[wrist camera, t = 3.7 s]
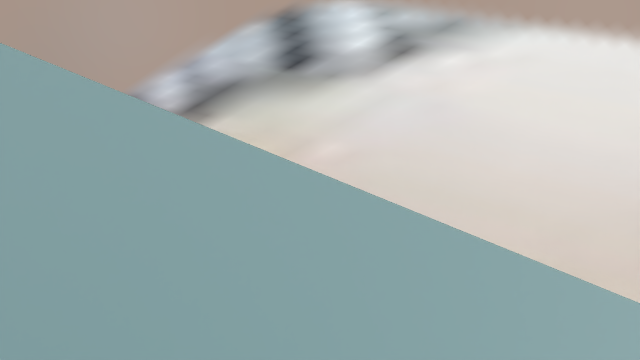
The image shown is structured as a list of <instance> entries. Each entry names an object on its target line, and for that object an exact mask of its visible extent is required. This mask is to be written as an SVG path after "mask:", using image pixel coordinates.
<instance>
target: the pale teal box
mask: <svg viewBox="0 0 640 360" xmlns="http://www.w3.org/2000/svg"><path fill="white" fill-rule="evenodd" d="M0 360H640V303H638V302H635V301H633V300H630V299H628V298H625V297H623V296H620V295H618V294H616V293H613V292H611V291H608V290H606V289H603V288H601V287H598V286H596V285H593V284H591V283H589V282H586V281H584V280H581V279H579V278H576V277H574V276H571V275H569V274H566V273H564V272H562V271H559V270H557V269H554V268H552V267H549V266H547V265H544V264H542V263H539V262H537V261H535V260H532V259H530V258H527V257H525V256H522V255H520V254H517V253H515V252H512V251H510V250H507V249H505V248H503V247H500V246H498V245H495V244H493V243H490V242H488V241H485V240H483V239H480V238H478V237H476V236H473V235H471V234H468V233H466V232H463V231H461V230H458V229H456V228H453V227H451V226H449V225H446V224H444V223H441V222H439V221H436V220H434V219H431V218H429V217H426V216H424V215H422V214H419V213H417V212H414V211H412V210H409V209H407V208H404V207H402V206H399V205H397V204H395V203H392V202H390V201H387V200H385V199H382V198H380V197H377V196H375V195H372V194H370V193H367V192H365V191H363V190H360V189H358V188H355V187H353V186H350V185H348V184H345V183H343V182H340V181H338V180H336V179H333V178H331V177H328V176H326V175H323V174H321V173H318V172H316V171H313V170H311V169H309V168H306V167H304V166H301V165H299V164H296V163H294V162H291V161H289V160H286V159H284V158H282V157H279V156H277V155H274V154H272V153H269V152H267V151H264V150H262V149H259V148H257V147H255V146H252V145H250V144H247V143H245V142H242V141H240V140H237V139H235V138H232V137H230V136H228V135H225V134H223V133H220V132H218V131H215V130H213V129H210V128H208V127H205V126H203V125H200V124H198V123H196V122H193V121H191V120H188V119H186V118H183V117H181V116H178V115H176V114H173V113H171V112H169V111H166V110H164V109H161V108H159V107H156V106H154V105H151V104H149V103H146V102H144V101H142V100H139V99H137V98H134V97H132V96H129V95H127V94H124V93H122V92H119V91H117V90H114V89H112V88H110V87H107V86H104V85H102V84H100V83H97V82H95V81H92V80H90V79H87V78H85V77H83V76H80V75H78V74H75V73H73V72H70V71H67V70H65V69H63V68H60V67H58V66H56V65H53V64H51V63H48V62H46V61H43V60H41V59H38V58H36V57H33V56H31V55H29V54H26V53H24V52H21V51H19V50H16V49H14V48H11V47H9V46H6V45H4V44H2V43H0Z"/></svg>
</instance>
